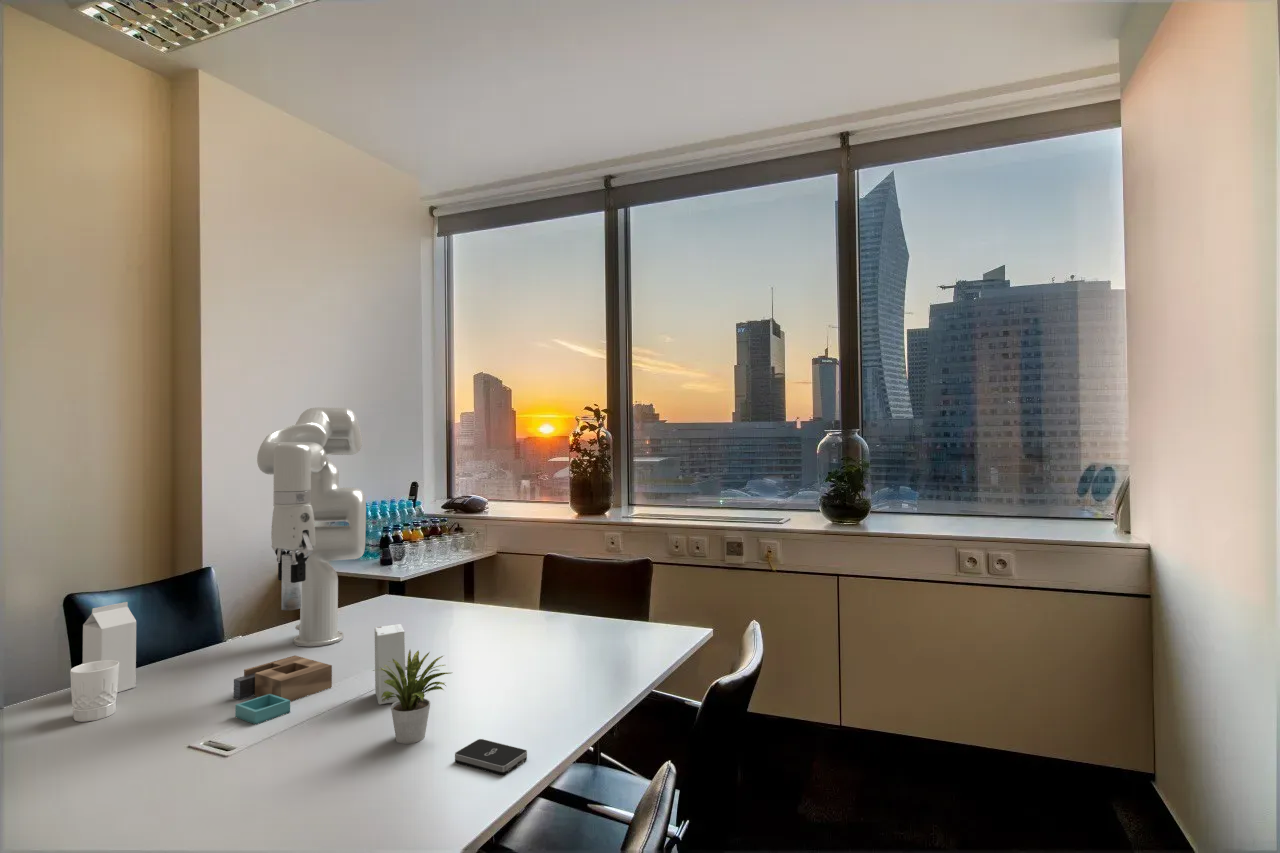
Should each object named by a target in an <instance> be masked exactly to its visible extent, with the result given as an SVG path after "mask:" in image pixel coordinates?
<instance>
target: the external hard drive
mask: <svg viewBox="0 0 1280 853" xmlns="http://www.w3.org/2000/svg"><path fill="white" fill-rule="evenodd" d="M527 760H528V750H527V749H524V748H520V747H516V746H512V745H508V744H504V743H500V742H496V741H492V740H487V739H484V738H478V739H476V740H474V741H473V742H471V743H469V744H467V745H466V746H464V747H463V748H461V749H458V750H457V751H456V752H455V753H454V762H455V764H458V765H462V766H466V767H469V768H472V769H476V770H479V771H484V772H487V773H490V774H495V775H499V776H502V777H503V776H506V775H507V774H509V773H510V772H512V771H513V770H515V769H516V768H518V767H520V766H521V765H522V764H523V762H524V763H525V762H526V761H527Z"/></svg>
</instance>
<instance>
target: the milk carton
mask: <svg viewBox="0 0 1280 853" xmlns="http://www.w3.org/2000/svg"><path fill="white" fill-rule="evenodd" d="M103 660H115V661H118V662H119V676H118V689H117V693H120V692H124V691H127V690H130V689H134V688H135V687H136V686H137V684H136V683H137V682H136V681H137V677H136V675H137V672H136V671H137V663H136V662H137V620H136V618H135V616H134V615H133V613H132V612H131V610H130V608H129V606H128V601H124V602H120V603H114V604H109V605H104V606H99V607H94V608H91V614H90V615H89V616H88V618H87V619H86V621H85V622H84V623H83V624H82V664H85V663H89V662H95V661H103Z"/></svg>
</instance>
